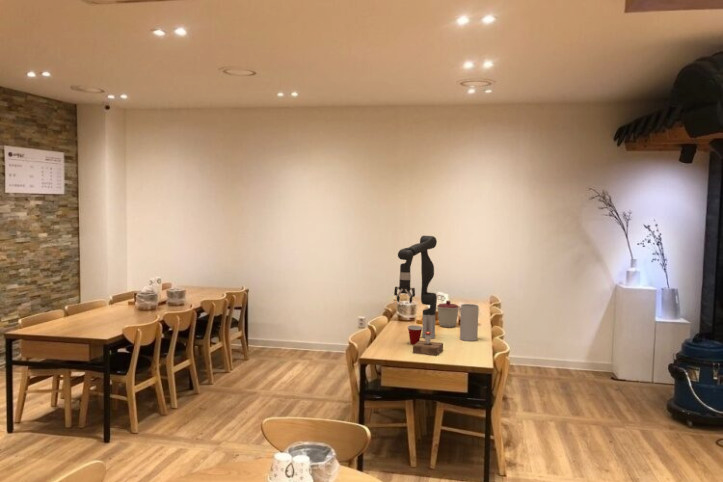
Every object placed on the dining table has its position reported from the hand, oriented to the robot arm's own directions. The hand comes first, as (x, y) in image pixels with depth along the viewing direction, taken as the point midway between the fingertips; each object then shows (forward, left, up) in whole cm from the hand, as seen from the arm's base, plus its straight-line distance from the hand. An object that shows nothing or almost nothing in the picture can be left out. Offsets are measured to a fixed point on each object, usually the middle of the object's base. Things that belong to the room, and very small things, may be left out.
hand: (404, 302), depth 392 cm
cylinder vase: (-42, +36, -30) cm, 63 cm away
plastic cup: (-10, +5, -30) cm, 32 cm away
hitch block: (+8, +20, -30) cm, 37 cm away
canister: (-82, +10, -30) cm, 88 cm away
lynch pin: (+8, +20, -30) cm, 37 cm away
